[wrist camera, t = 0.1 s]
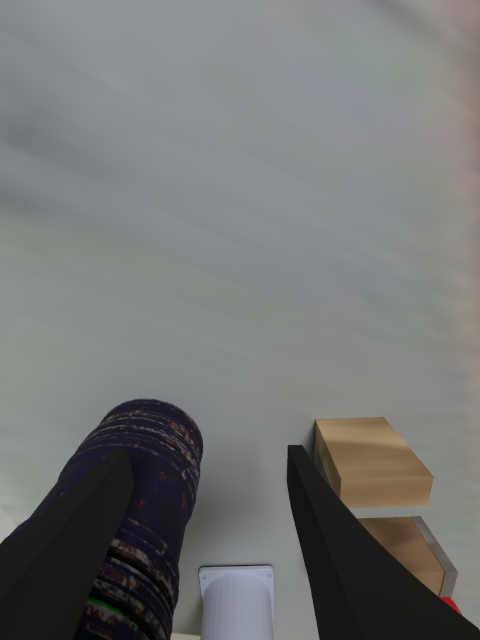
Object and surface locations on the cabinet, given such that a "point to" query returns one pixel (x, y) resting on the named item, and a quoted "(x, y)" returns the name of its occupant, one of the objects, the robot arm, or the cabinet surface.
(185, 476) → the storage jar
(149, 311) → the cabinet surface
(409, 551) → the rail
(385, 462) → the wooden forked bracket
